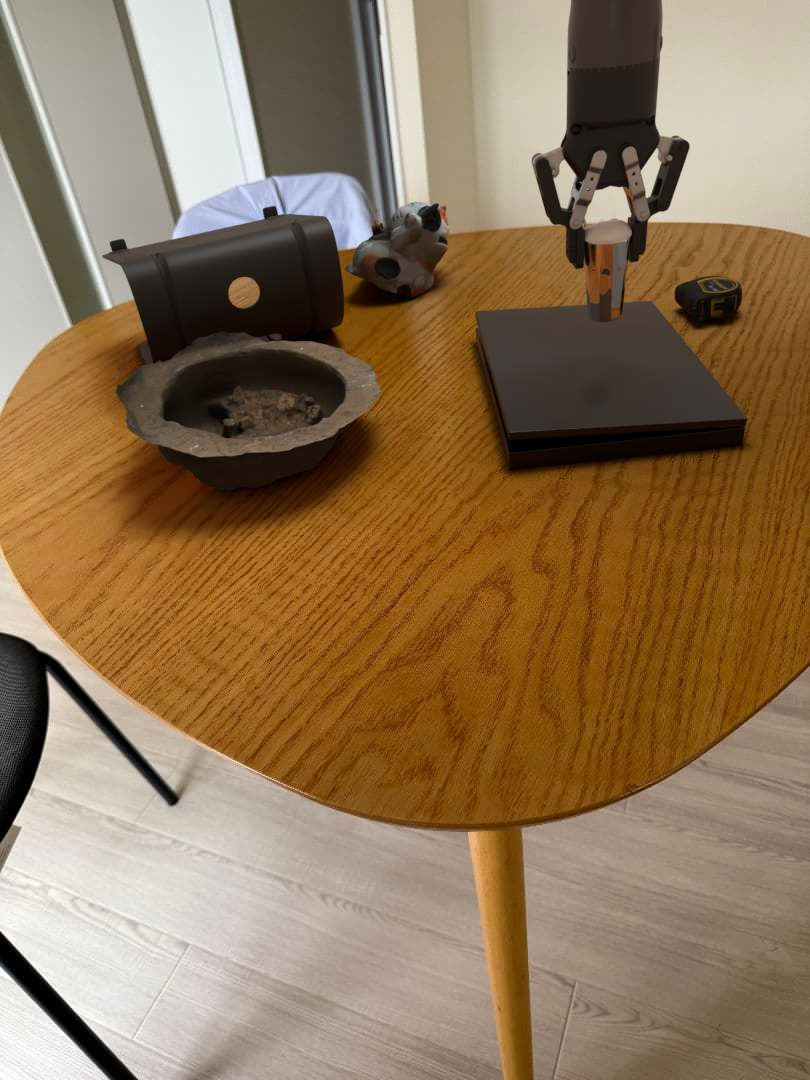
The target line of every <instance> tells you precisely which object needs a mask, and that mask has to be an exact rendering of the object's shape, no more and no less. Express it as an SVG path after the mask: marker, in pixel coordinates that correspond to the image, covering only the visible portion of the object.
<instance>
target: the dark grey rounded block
mask: <svg viewBox="0 0 810 1080" xmlns="http://www.w3.org/2000/svg"><path fill="white" fill-rule="evenodd" d="M278 212H279V211H278V208H277V206H276V205H271V206H266V207H263V208H262V215H263V219H258V220H254V221H248V222H245V223H240V224H236V225H232V226H231V225H230V226H226V227H222V228H218V229H212V230H209V231H204V232H199V233H195V234H190V235H186V236H181V237H178V238H177V237H176V238H172V239H168V240H163V241H159V242H155V243H150V244H149V243H148V244H146V245H145V244H144V245H141V246H136V247H132V248H128V246H127V242H126V240H125V239H124V238H118V239H113V240H111V241H110V242H109V246H110V250H111V251H109V252H108V253H105V254H103V255H101V257H102V258H103V259H104V260H107V261H109V262H112V263H114V264H115V265H118V266H120V267H121V268H122V271H123V273H124V275H125V278H126V281H127V283H128V285H129V288H130V291H131V294H132V297H133V301H134V303H135V307H136V309H137V312H138V315H139V318H140V322H141V325H142V329H143V332H144V335H145V339H146V340H145V341H142V343H141V344H140V346H139V351H140V354H141V356H142V358H143V361H144V365H149V364H151V363H157V362H158V361H159V360H160V361H161V362H165V361H168V360H171V359H172V358H173V356H175V355H176V354H177V353H178V352H179V351H181V350H184V349H185V347H186V346H191V345H192V342H193V341H194V340H196V339H197V338H199V337H208V336H210V335H212V334H214V333H219V332H226V333H242V332H243V333H247V334H248V335H251V336H253V337H256V338H259V339H261V340H262V341H264V342H270V341H290V340H293V339H297V338H301V337H304V336H306V335H308V333H309V334H315V333H320V332H323V331H327V330H331V329H334V328H338V327H340V326H341V325H343V321H344V316H345V292H344V282H343V274H342V267H341V261H340V255H339V250H338V245H337V240H336V236H335V233H334V232H335V231H334V229H333V227H332V224H331V222H330V220H329V219H328V217H327V216H325V215H313V214H312V215H311V214H297V213H296V214H295V213H286V214H285V213H281V214H279V213H278ZM241 278H250V279H251V280H253V281H254V282H255V283H256V285H257V286H258V291H259V295H258V299H257V300H256V301H255V303H253V304H252V305H250V306H248V307H238V306H236V305H235V304H233V303H232V301H231V300H230V295H229V293H230V287H231V285H232V284H233V282H234V281H236V280H238V279H241Z"/></svg>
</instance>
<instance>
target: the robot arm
mask: <svg viewBox="0 0 810 1080" xmlns="http://www.w3.org/2000/svg"><path fill="white" fill-rule="evenodd" d="M663 19H664V17H663V0H570V9H569V16H568V23H567V24H568V25H567V49H566V50H567V52H566V53H567V54H566V55H567V56H566V57H567V59H566V62H567V63H566V129H565V133H564V136H563V138H562V140H561V142H560V146H559V147H557V148H554V149H553V150H550V151H547V152H546V153H541V152H537V153H535V154H534V155H532V157H531V166H532V168H533V172H534V176H535V180H536V184H537V187H538V190H539V195H540V197H541V201H542V205H543V207H544V212H545V215H546V217H547V218H548V219H549V221H550V223H551V224H552V225H554V226H558V225H559V226H564V227H565V256H566V258H567V260H568V262H569V263H570V264H572V266H573V267H574V269H575V270H581V269H585V264H584V243H585V228H584V226H583V221H584V218H585V217H586V215H587V212H588V209H589V207H590V205H591V203H592V202H593V198H594V196H595V192H596V191H602V190H604V189H606V188H609V187H615V188H622V189H623V192H624V194H625V197H626V198H625V199H626V201H627V205H628V208H629V213H630V216H628V217H627V222H626V223H627V224H628V225H629V226H630V228H631V230H632V236H631V243H630V250H629V258H628V263H638V262H639V260H640V256H643V255H645V252H646V250H647V237H648V224H649V220H650V218H651V217H653V216H654V215H656V214H658V213H665V212H666V211H668V210H669V208H670V206H671V203H672V201H673V199H674V195H675V192H676V189H677V186H678V184H679V180H680V177H681V173H682V171H683V169H684V167H685V163H686V159H687V157H688V154H689V151H690V148H691V147H690V146H691V145H690V143H689V141H687V140H686V139H684V138H683V137H681V136H679V135H672V136H671V137H670V136H665V135H660V132H659V130H658V127H657V124H656V123H657V122H656V117H657V106H658V91H659V90H658V89H659V76H660V66H661V65H660V64H661V63H660V61H661V51H662V48H663V42H664V37H663V21H664V20H663ZM656 150H657V159H658V161H659V162H660V165H659V168H658V171H657V174H656V178H655V180H654V184H653V188H652V190H651V193H650V196H648V197H647V196H646V192H647V191H646V187H645V183H644V179H643V176H642V170H643V169H644V167H645V166H646V164H647V163H648V161H649V160H650V159H651V157H652V155H653V154H654V153H655V151H656ZM563 161H565V162H566V164H567V166H569V168H570V169H571V170H572V172H573V173H574V175H575V176H574V180H573V184H572V186H571V190H570V197H569V199H568V200H569V201H568V204H567V207H566V208H565V207H562V206H561V202H560V199H559V194H558V191H557V186H556V184H555V180H554V179H556V178H557V177H559V175H560V172H561V171H560V165H561V163H562V162H563ZM585 219H586V218H585Z"/></svg>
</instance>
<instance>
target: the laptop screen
mask: <svg viewBox="0 0 810 1080" xmlns="http://www.w3.org/2000/svg"><path fill="white" fill-rule="evenodd" d="M474 315H475V316H474V317H475V322H476V325H477V328H478V329H479V332H480V336H481V340H482V343H483V347H484V351H485V354H486V358H487V362H488V365H489V369H490V373H491V376H492V380H493V383H494V387H495V391H496V394H497V398H498V402H499V405H500V409H501V413H502V416H503V420H504V424H505V427H506V431H507V434H508V438H509V440H515V439H532V438H550V437H567V436H585V435H602V434H620V433H637V432H655V431H672V430H690V429H707V428H725V427H742V426H744V427H746V426H747V423H748V417H747V416H746V415H745V414H744V413H743V411H742V410H741V409H740V408H739V406H738V404H736V403H735V401H734V399H732V397H731V396H730V395H729V394H728V393H727V392H726V390H725V389H724V388H723V386H722V385H721V384H720V382H718V381H717V379H716V378H715V377H714V376H713V375H712V373H711V372H710V371H709V370H708V368H707V366H705V364H704V363H703V362H702V361H701V360H700V358H699V357H698V356H697V355H696V353H695V352H694V351H693V350H692V349H691V348H690V346H689V344H688V343H687V342H686V341H685V340H684V339H683V338H682V336H681V335H680V334H679V332H678V331H677V330H676V329H675V327H673V325H672V324H671V322H669V320H668V319H667V318H666V317H665V315H664V313H662V311H661V310H660V309H659V307H657V305H656V304H655V303H654V302H653V300H643V301H626V302H625V301H624V302H623V311H622V315H621V317H620V318H619V319H617V320H614V321H611V322H596V321H592V320H591V319H590V318H589V317H588V308H587V304H573V305H557V306H556V305H555V306H540V307H523V308H507V309H506V308H505V309H504V308H503V309H488V310H487V309H486V310H475V311H474Z"/></svg>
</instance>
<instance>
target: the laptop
mask: <svg viewBox="0 0 810 1080" xmlns="http://www.w3.org/2000/svg"><path fill="white" fill-rule="evenodd" d="M475 343H476V346H477V351H478V354H479V357H480V358H479V359H480V361H481V365H482V370H483V373H484V377H485V381H486V385H487V388H488V393H489V396H490V401H491V404H492V408H493V412H494V417H495V419H496V423H497V427H498V432H499V435H500V438H501V442H502V447H503V451H504V454H505V458H506V463H507V466H508V470H509V471H513V470H523V469H524V470H525V469H533V468H541V467H550V466H560V465H568V464H569V465H570V464H578V463H580V464H581V463H589V462H597V461H607V460H616V459H625V458H626V459H627V458H632V457H634V458H635V457H644V456H653V455H664V454H672V453H682V452H689V451H701V450H708V449H720V448H728V447H738V446H743V445H744V444H743V443H744V438H745V433H746V426H742V427H725V428H707V429H690V430H672V431H655V432H637V433H620V434H602V435H585V436H567V437H550V438H532V439H515V440H509V438H508V434H507V431H506V427H505V424H504V420H503V416H502V413H501V409H500V405H499V402H498V398H497V394H496V391H495V387H494V383H493V380H492V376H491V373H490V369H489V365H488V362H487V358H486V354H485V351H484V347H483V343H482V340H481V336H480V332H479V329H478V327H476V328H475Z"/></svg>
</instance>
